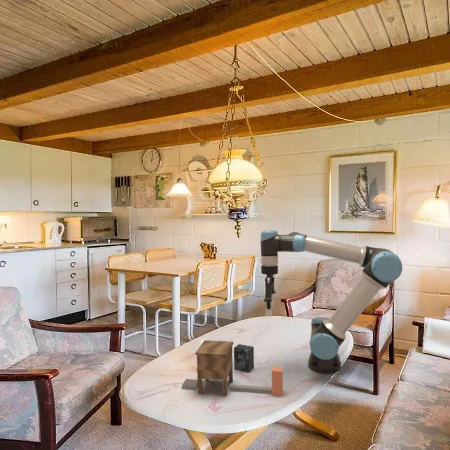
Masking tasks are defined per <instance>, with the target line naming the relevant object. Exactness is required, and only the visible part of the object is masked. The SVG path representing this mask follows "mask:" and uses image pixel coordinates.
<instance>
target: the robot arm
mask: <svg viewBox="0 0 450 450" xmlns="http://www.w3.org/2000/svg"><path fill="white" fill-rule="evenodd" d="M282 252H284V253H287V252H288V253H303V252H307V253H311V254H314V255H315V254H316V255H320V256H324V257H329V258H332V259H338V260H342V261H346V262H350V263H354V264H358V265H359V266H360V268H363V269H362V270H361V274H362V277H360V279H359V281H358V282H357V283H356V284H355V285H354V286H353V288H352V289H351V291H350V292H349V293H348V294H347V296H346V297H345V298H344V299H343V300H342V302H341V303H340V305H338V307H337V308H336V310H335V311H334V312H333V314H332V315H331V316H330V317H323V316H322V317H320V316H319V317H313V318H312V319H311V323H310V325H311V332H310V339H309V348H310V354H309V357H308V360H307V366H308V368H309V369H310V370H311V371H313V372H315V373H316V372H317V373H321V374H334V373H338V372H340V371H341V369H342V362H341V359H340V356H339V351H340V350H339V348H340V346H342V344H343V343H344V341H346V339H347V337H346V336H347V335H346V333H347V332H348V331H349V329H350V328H351V327H352V325H353V324H354V323H355V322H356V321H357V319H358V318H359V316H360V315H361V314H362V313H363V312H364V310H365V309H366V308H367V306H368V305H369V304H370V303H371V302H372V300H373V299H374V298H375V296H376V295H377V294H378V293H379V291H381V290H383V289H384V290H385V289H387V288H388V287H389V286H390V284H391V283H392V282H394V281H396V280H397V279H399V277H400V276H401V275H402V273H403V264H402V260H401V259H400V257H399V256H398V255H397V254H396V253H394V252H393V251H391V250H390V249H387V248H384V247H383V248H381V247H373V246H367V245H364V246H363V247H361V246H357V245H353V244H349V243H344V242H339V241H335V240H330V239H325V238H323V237H317V236H313V235H312V236H311V235H307V234H302V233H300V232H298V231H292V232H290V233H289V234H279V233H278V231H277V229H276V230H275V229H268V230H267V229H266V230H262V231H261V232H260V257H259V260H260V264H261V266H260V270H261V271H260V273H261V274H262V275H266V276H265V278H264V282H265V283H264V285H265V286H264V287H265V290H264V291H265V295H264V299H263V302H264V303H265V317H273V309H275V294H276V293H277V292H276V291H275V277H274V276H275V275H278V274H279V265H278V264H279V253H282Z"/></svg>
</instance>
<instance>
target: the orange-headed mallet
mask: <svg viewBox="0 0 450 450" xmlns="http://www.w3.org/2000/svg"><path fill="white" fill-rule="evenodd" d="M283 375H284V372H283V366H272V368H271V386H270V387H268V386H257V385H245V384H244V385H243V384H231V383H230V384H229V386H228V392H241V393H242V392H243V393H255V394H264V395H265V394H266V395H268V394H269V395H272V396H277V397H283V393H284V389H283V388H284V385H283V384H284V383H283V382H284V381H283V380H284V378H283V377H284V376H283Z"/></svg>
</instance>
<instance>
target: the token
mask: <svg viewBox="0 0 450 450" xmlns="http://www.w3.org/2000/svg"><path fill="white" fill-rule="evenodd" d="M181 389H182V390H193V391H196V390H198V379H195V378H194V379H191V378H190V379H189V378H186V379H185V380H184V381H183V383H182V384H181Z"/></svg>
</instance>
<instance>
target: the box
mask: <svg viewBox="0 0 450 450" xmlns="http://www.w3.org/2000/svg"><path fill="white" fill-rule="evenodd" d="M254 349H255V348H254V346H252V345H246V344H241V343H239V344H237V345H235V346H234V347H233V370H237V371H242V372H246V373H250V372H251V371H252V370H253V369H254V368H255V357H254V356H255V354H254V353H255V351H254Z"/></svg>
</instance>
